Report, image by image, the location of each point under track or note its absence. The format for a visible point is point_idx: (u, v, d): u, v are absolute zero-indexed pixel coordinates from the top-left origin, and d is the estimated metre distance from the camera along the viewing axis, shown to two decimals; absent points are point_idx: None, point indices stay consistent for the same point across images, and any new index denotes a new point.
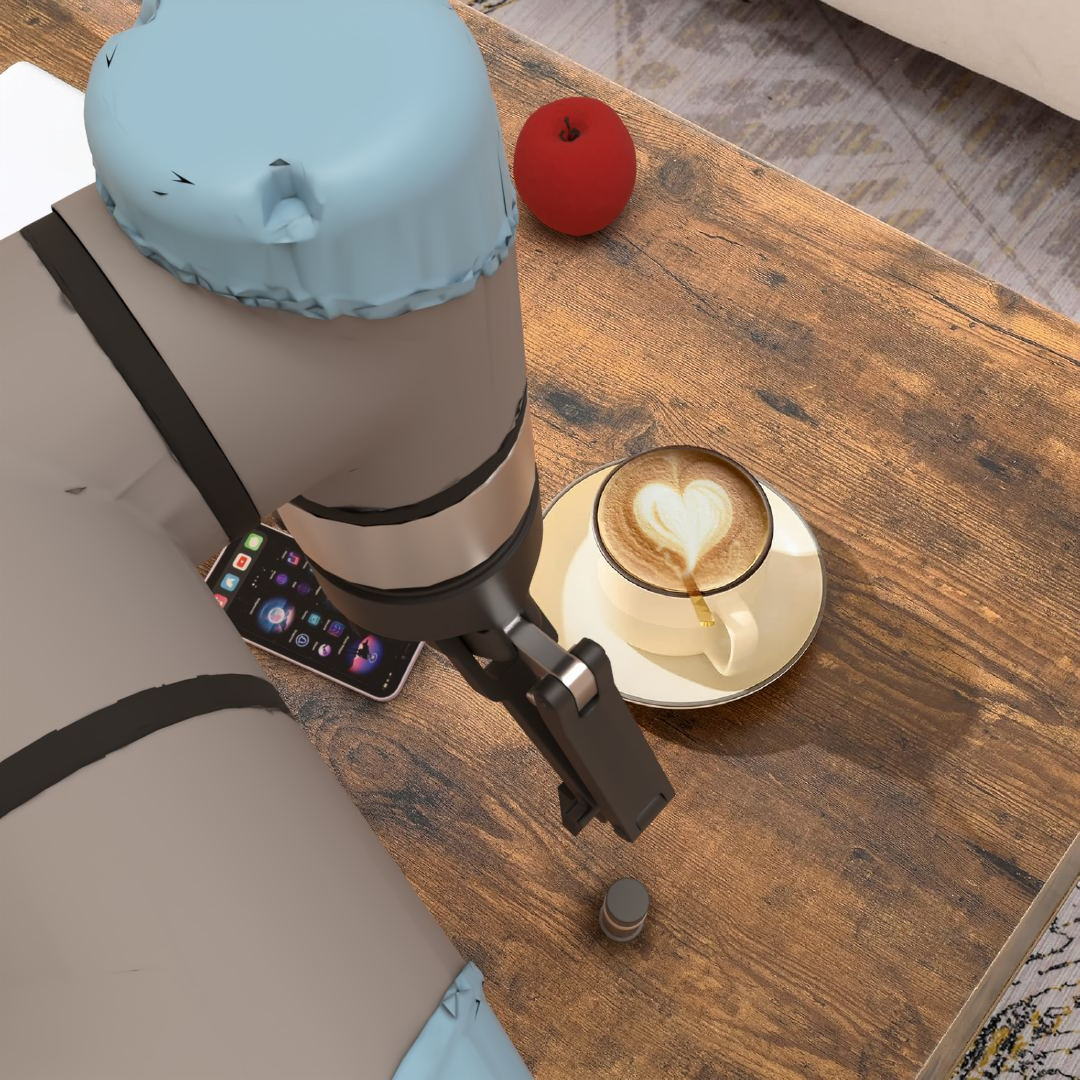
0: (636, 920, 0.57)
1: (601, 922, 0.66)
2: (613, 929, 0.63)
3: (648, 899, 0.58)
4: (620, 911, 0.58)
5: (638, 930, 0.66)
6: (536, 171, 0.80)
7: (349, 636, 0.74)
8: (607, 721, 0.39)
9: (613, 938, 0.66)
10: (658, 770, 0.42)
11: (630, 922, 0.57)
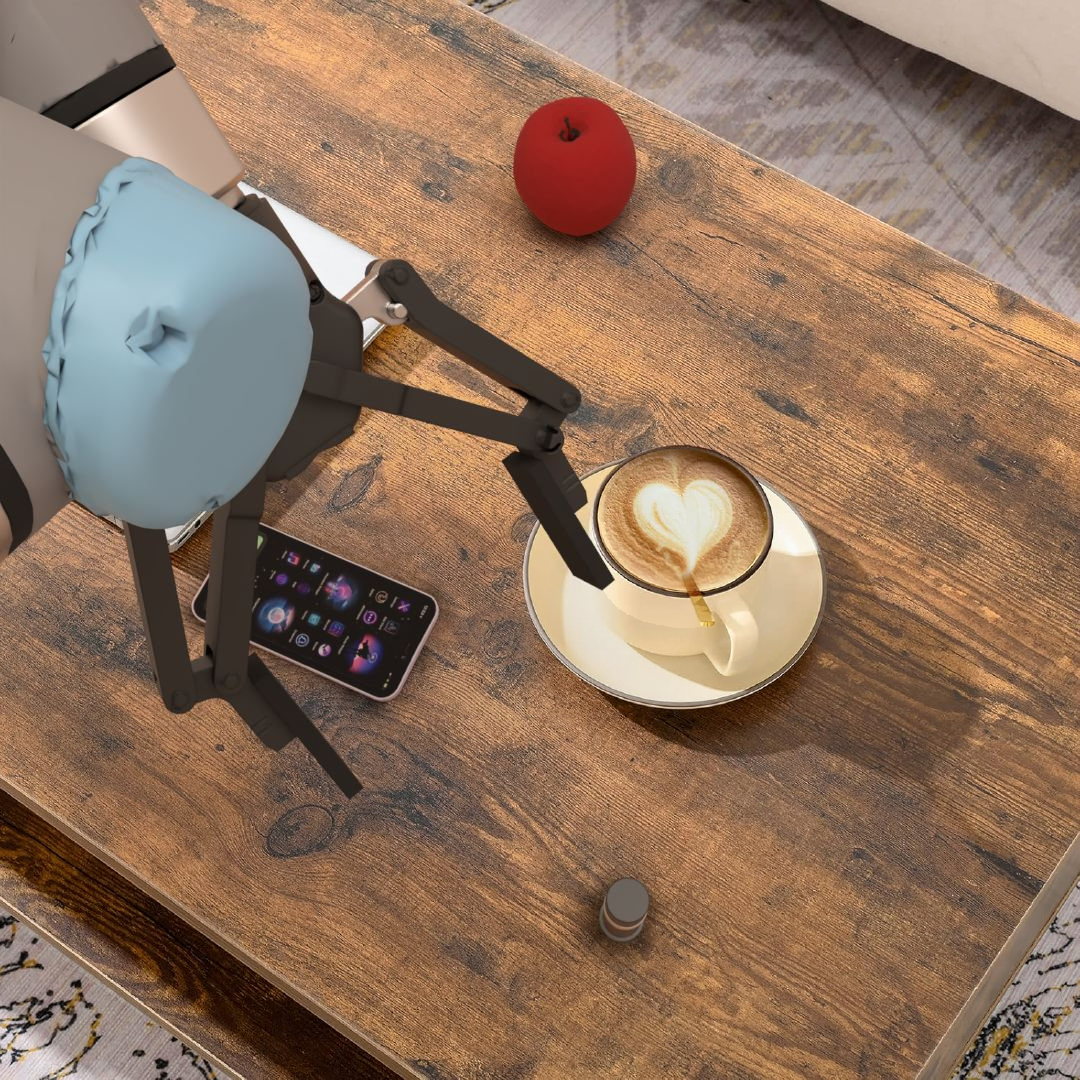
0: (636, 920, 0.57)
1: (601, 922, 0.66)
2: (613, 929, 0.63)
3: (648, 899, 0.58)
4: (620, 911, 0.58)
5: (638, 930, 0.66)
6: (536, 171, 0.80)
7: (349, 636, 0.74)
8: None
9: (613, 938, 0.66)
10: None
11: (630, 922, 0.57)
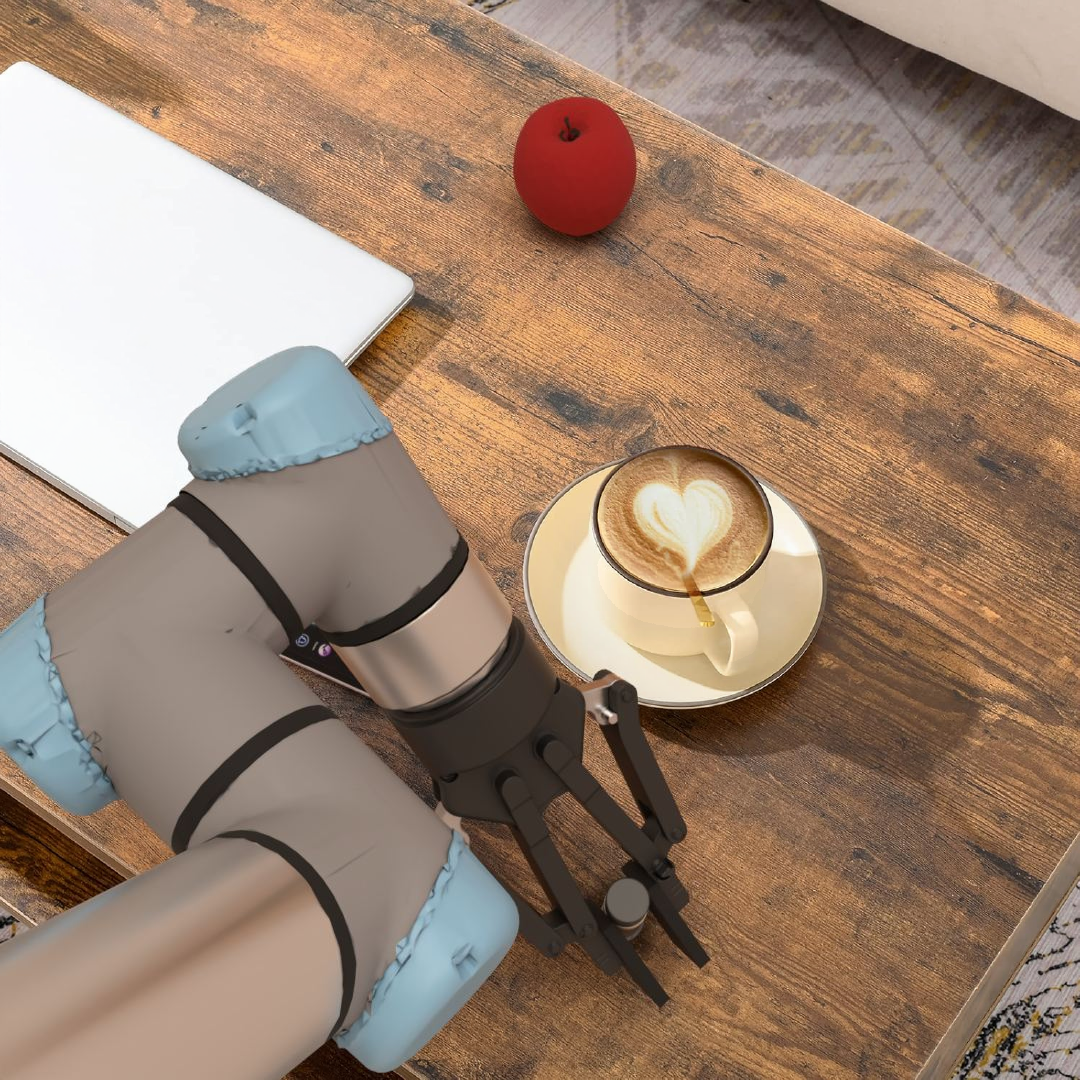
0: (636, 920, 0.57)
1: None
2: None
3: (648, 899, 0.58)
4: (620, 911, 0.58)
5: (638, 930, 0.66)
6: (536, 171, 0.80)
7: None
8: None
9: None
10: None
11: (630, 922, 0.57)
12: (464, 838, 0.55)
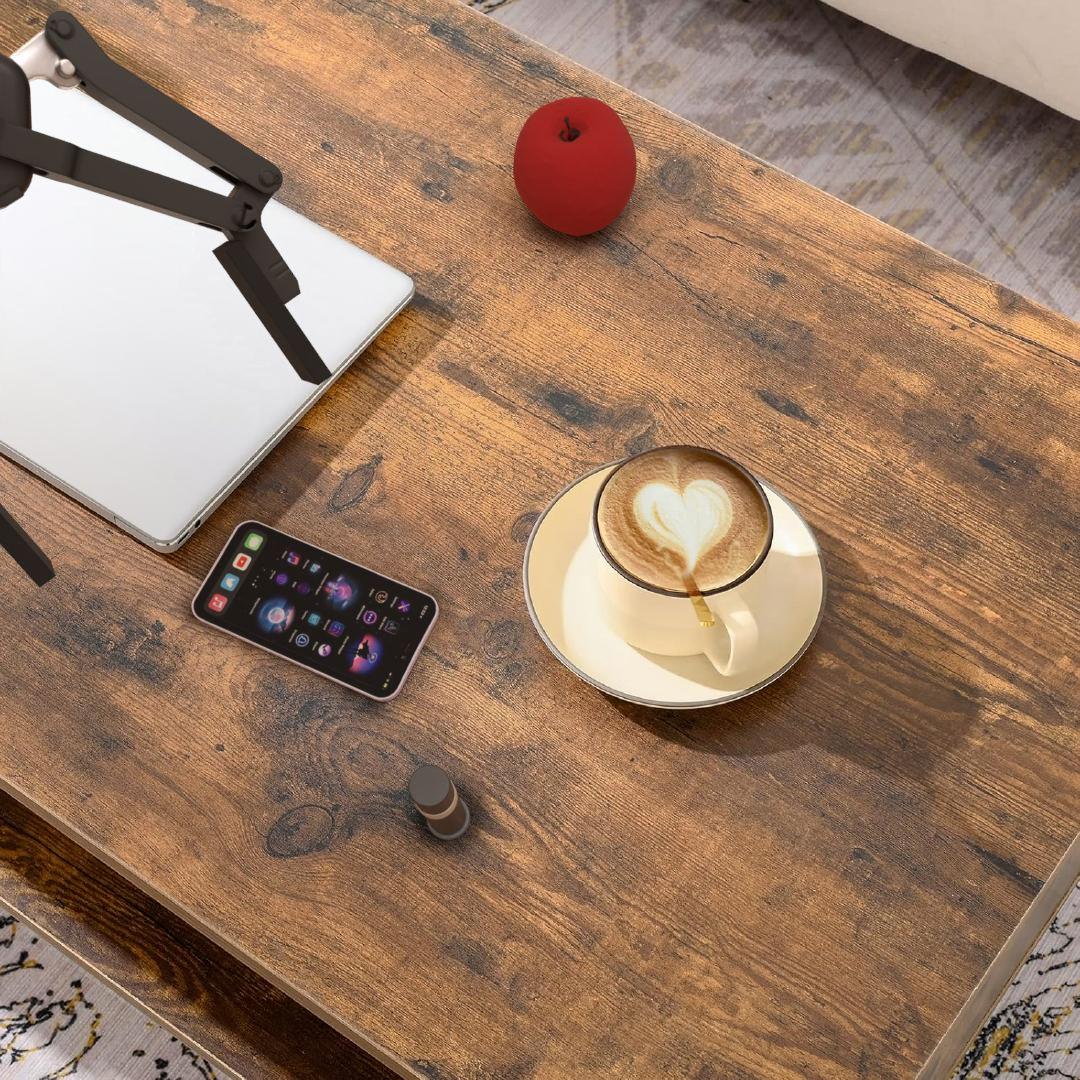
0: (436, 804, 0.60)
1: (428, 821, 0.69)
2: (430, 822, 0.65)
3: (448, 784, 0.60)
4: (421, 796, 0.60)
5: (463, 828, 0.69)
6: (536, 171, 0.80)
7: (349, 636, 0.74)
8: None
9: (439, 836, 0.69)
10: None
11: (430, 806, 0.60)
12: None
